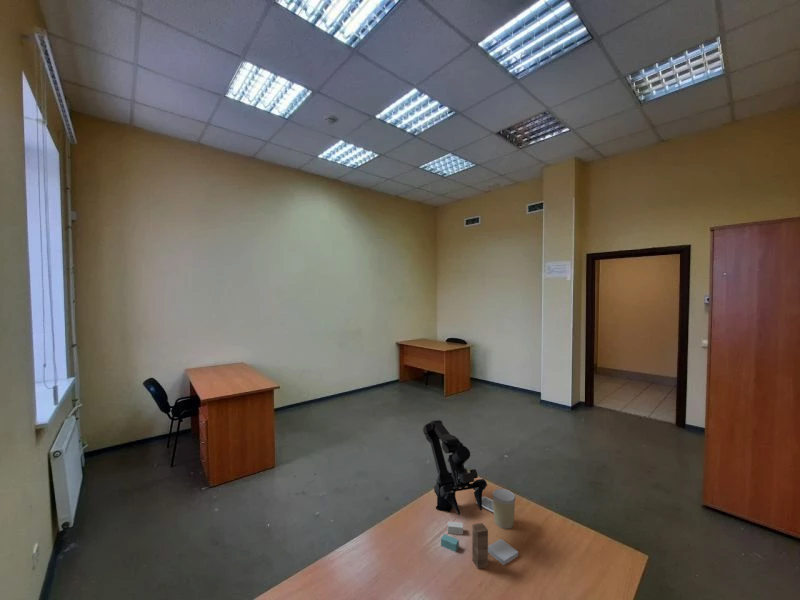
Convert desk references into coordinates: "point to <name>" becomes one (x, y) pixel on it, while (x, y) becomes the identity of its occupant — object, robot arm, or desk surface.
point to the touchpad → (487, 503)
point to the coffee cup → (503, 508)
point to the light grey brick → (455, 528)
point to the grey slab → (502, 551)
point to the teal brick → (450, 542)
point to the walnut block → (480, 545)
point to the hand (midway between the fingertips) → (470, 512)
